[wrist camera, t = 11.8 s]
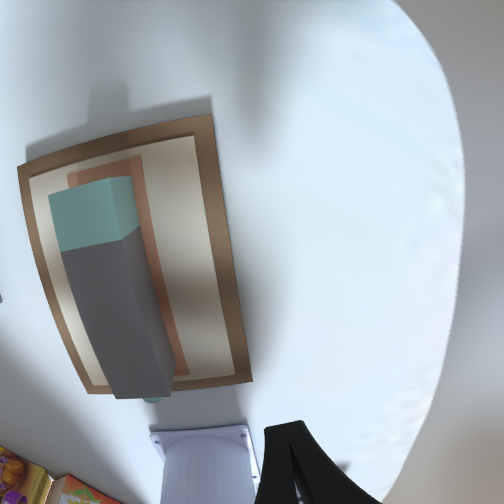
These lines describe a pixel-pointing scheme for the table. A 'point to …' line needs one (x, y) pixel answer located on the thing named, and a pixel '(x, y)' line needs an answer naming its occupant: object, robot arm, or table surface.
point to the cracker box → (75, 493)
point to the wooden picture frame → (152, 245)
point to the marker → (114, 286)
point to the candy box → (21, 480)
